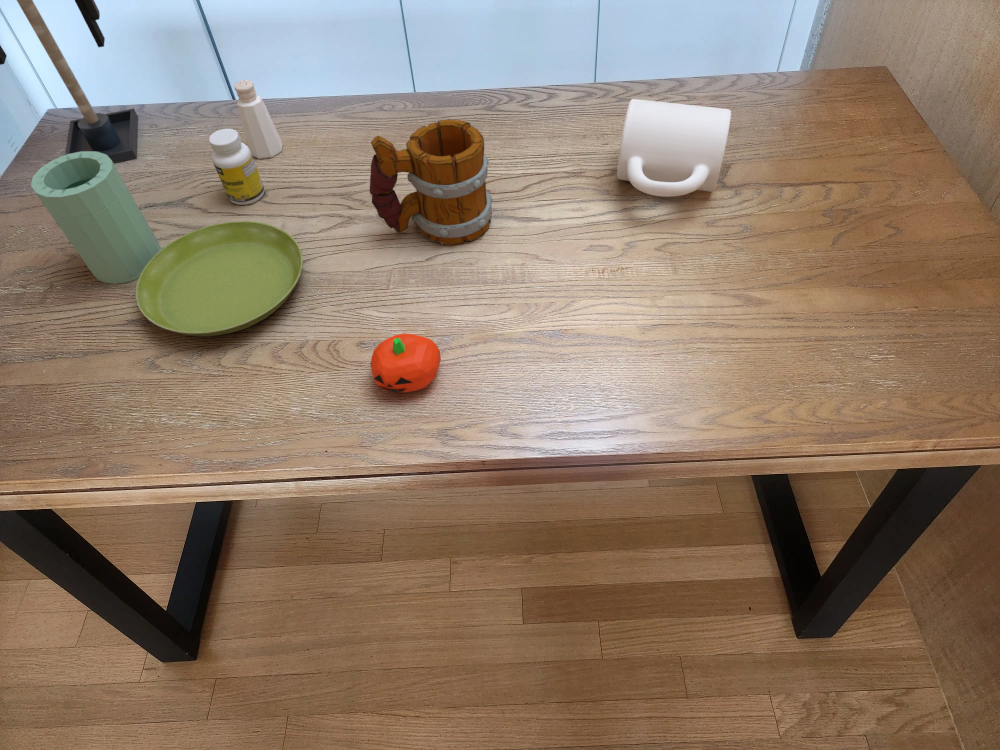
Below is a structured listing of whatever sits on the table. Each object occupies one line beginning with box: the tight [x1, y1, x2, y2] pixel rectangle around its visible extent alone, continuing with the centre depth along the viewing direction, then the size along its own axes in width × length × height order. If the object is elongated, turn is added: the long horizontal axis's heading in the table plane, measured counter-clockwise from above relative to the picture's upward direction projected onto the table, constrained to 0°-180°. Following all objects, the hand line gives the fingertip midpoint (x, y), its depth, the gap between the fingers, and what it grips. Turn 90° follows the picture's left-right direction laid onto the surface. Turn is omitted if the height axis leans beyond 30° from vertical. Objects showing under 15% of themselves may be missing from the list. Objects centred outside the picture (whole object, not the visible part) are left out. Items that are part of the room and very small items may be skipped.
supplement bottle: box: [208, 128, 265, 206], centre depth 95 cm, size 5×5×10 cm
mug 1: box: [369, 119, 493, 246], centre depth 87 cm, size 11×16×15 cm, turn 108°
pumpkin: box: [370, 332, 442, 394], centre depth 74 cm, size 7×8×6 cm
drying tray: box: [64, 108, 139, 165], centre depth 108 cm, size 13×10×2 cm
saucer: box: [135, 220, 304, 337], centre depth 85 cm, size 21×21×3 cm
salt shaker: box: [233, 79, 283, 160], centre depth 102 cm, size 5×5×11 cm
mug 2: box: [616, 98, 732, 198], centre depth 92 cm, size 16×14×11 cm
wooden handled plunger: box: [16, 0, 120, 151], centre depth 99 cm, size 5×5×24 cm
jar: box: [30, 151, 163, 285], centre depth 86 cm, size 9×9×14 cm
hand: (52, 51), depth 97 cm, fingers open, 13 cm apart
